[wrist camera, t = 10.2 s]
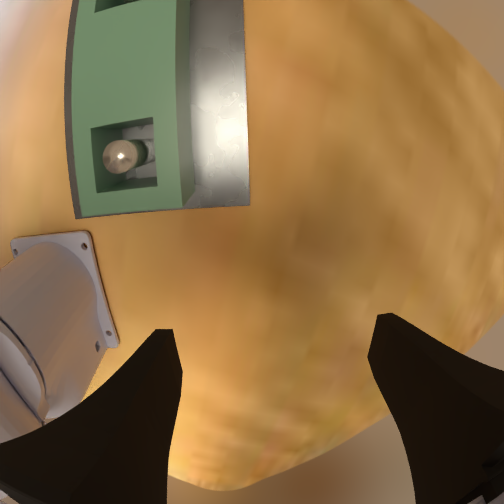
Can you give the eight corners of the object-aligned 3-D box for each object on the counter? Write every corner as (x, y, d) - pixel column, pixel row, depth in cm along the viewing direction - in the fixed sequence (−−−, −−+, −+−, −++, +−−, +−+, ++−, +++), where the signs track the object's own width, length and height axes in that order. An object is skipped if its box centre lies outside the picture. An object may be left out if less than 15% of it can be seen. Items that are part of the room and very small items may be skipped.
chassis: (249, 201, 17) (255, 230, 12) (82, 215, 17) (35, 245, 12) (241, -34, 11) (243, -83, 6) (80, -3, 11) (40, -32, 6)
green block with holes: (195, 191, 16) (182, 207, 12) (113, 198, 16) (82, 216, 12) (191, -27, 11) (181, -61, 7) (112, -11, 10) (87, -37, 7)
